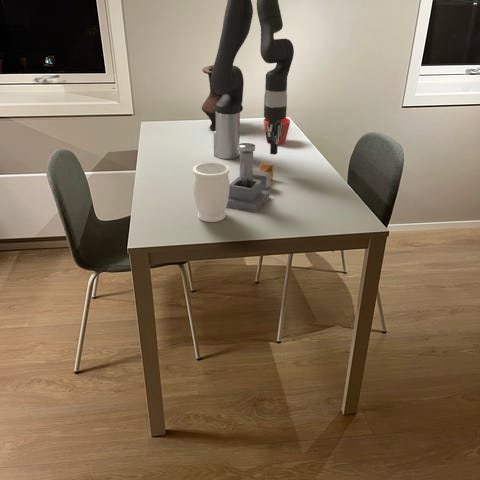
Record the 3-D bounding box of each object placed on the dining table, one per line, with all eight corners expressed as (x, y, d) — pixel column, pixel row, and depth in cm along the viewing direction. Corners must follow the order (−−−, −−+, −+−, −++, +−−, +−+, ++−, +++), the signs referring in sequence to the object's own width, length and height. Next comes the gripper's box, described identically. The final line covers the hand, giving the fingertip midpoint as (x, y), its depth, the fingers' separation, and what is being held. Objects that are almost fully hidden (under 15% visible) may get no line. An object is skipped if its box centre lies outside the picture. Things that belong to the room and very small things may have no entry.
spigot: (234, 196, 149) (235, 146, 142) (240, 190, 153) (242, 142, 146) (250, 199, 148) (251, 149, 140) (255, 193, 152) (257, 144, 144)
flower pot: (281, 148, 198) (282, 124, 193) (258, 143, 203) (259, 120, 198) (293, 141, 206) (294, 119, 201) (270, 137, 211) (271, 114, 206)
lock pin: (261, 176, 169) (261, 163, 167) (272, 178, 168) (273, 164, 165) (248, 189, 159) (248, 174, 157) (260, 191, 158) (261, 176, 155)
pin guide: (246, 187, 161) (246, 173, 158) (250, 183, 164) (250, 169, 161) (265, 191, 159) (266, 176, 156) (269, 187, 162) (270, 172, 159)
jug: (242, 135, 212) (243, 63, 197) (200, 134, 212) (198, 63, 197) (242, 122, 230) (244, 56, 216) (204, 121, 230) (203, 55, 216)
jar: (194, 208, 146) (192, 161, 139) (228, 208, 147) (228, 161, 140) (194, 224, 137) (192, 175, 129) (230, 224, 138) (230, 174, 130)
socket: (219, 205, 149) (219, 187, 146) (234, 191, 158) (234, 173, 155) (256, 212, 145) (256, 193, 142) (269, 197, 155) (270, 179, 152)
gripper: (271, 98, 167) (269, 147, 175) (258, 107, 156) (257, 158, 164) (291, 100, 164) (289, 149, 173) (280, 109, 154) (278, 161, 162)
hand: (273, 153), depth 168 cm, fingers closed
